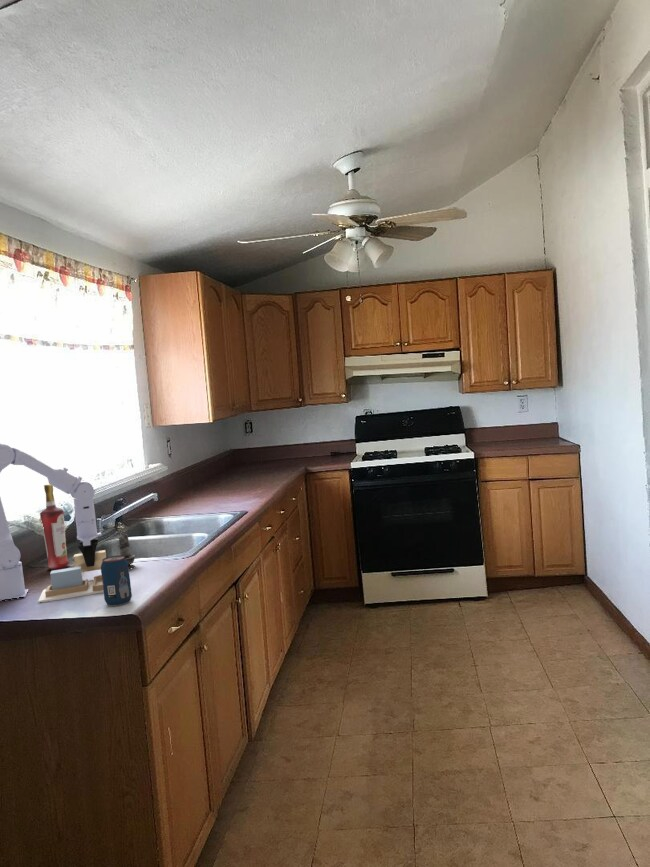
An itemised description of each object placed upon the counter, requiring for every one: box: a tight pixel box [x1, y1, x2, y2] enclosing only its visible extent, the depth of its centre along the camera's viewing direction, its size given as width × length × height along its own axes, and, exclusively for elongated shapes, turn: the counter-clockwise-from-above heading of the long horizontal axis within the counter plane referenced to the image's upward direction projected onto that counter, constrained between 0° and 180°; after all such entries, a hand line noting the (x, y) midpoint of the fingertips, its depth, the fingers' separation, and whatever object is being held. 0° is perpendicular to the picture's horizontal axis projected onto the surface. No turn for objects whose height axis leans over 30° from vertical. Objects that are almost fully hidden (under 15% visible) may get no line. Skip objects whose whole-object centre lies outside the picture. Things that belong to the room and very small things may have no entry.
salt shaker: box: [118, 530, 136, 570], centre depth 226 cm, size 6×6×12 cm
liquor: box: [39, 483, 70, 571], centre depth 235 cm, size 7×7×28 cm
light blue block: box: [49, 566, 84, 590], centre depth 203 cm, size 8×4×6 cm, turn 106°
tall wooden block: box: [73, 549, 107, 573], centre depth 216 cm, size 9×4×5 cm, turn 105°
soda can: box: [100, 554, 133, 607], centre depth 187 cm, size 7×7×12 cm
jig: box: [37, 574, 104, 604], centre depth 204 cm, size 21×13×2 cm, turn 105°
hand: (90, 564), depth 216 cm, fingers closed on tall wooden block, 3 cm apart
